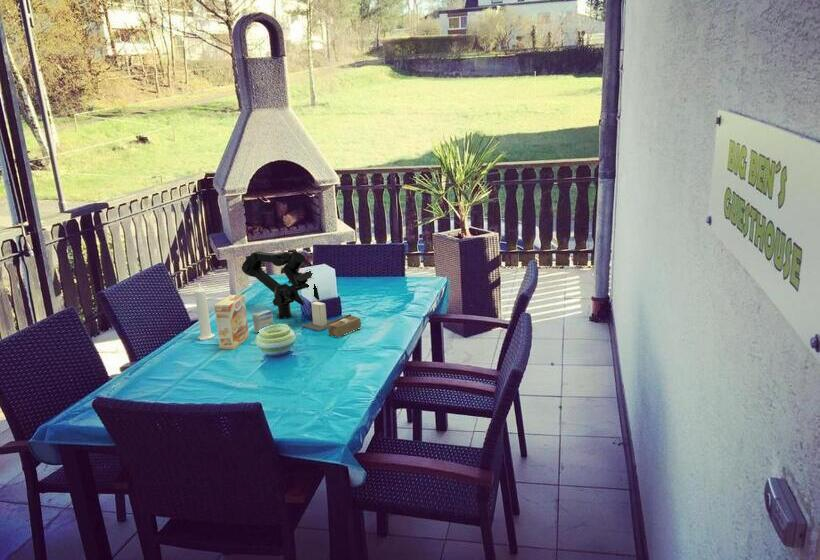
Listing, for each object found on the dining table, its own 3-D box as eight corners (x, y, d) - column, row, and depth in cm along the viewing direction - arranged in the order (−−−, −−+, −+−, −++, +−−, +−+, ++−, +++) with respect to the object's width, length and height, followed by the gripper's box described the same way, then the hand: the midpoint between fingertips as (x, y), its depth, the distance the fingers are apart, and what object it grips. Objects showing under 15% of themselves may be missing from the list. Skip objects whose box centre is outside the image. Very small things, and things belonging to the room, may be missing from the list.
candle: (194, 339, 295) (186, 284, 288) (206, 333, 301) (198, 280, 294) (206, 341, 292) (199, 286, 285) (218, 335, 298) (210, 281, 291)
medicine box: (260, 334, 297) (258, 315, 295) (254, 332, 300) (252, 314, 297) (274, 328, 303) (272, 310, 301) (267, 327, 306) (265, 309, 303)
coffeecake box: (234, 349, 280) (229, 305, 275) (219, 349, 282) (213, 305, 276) (249, 337, 294) (244, 294, 289) (234, 336, 296) (229, 294, 290)
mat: (301, 326, 304) (301, 325, 304) (320, 319, 312) (320, 318, 312) (319, 331, 296) (319, 330, 296) (338, 324, 305) (338, 322, 305)
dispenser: (328, 335, 291) (327, 323, 290) (350, 326, 302) (350, 314, 300) (338, 338, 287) (337, 325, 286) (361, 328, 298) (360, 316, 296)
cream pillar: (313, 324, 305) (311, 303, 302) (318, 322, 307) (316, 301, 304) (322, 326, 301) (320, 305, 298) (327, 324, 303) (325, 303, 301)
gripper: (284, 269, 296) (303, 297, 293) (315, 260, 310) (334, 287, 306) (274, 284, 304) (292, 311, 300) (305, 274, 317) (323, 300, 313)
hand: (311, 302), depth 305 cm, fingers open, 9 cm apart
